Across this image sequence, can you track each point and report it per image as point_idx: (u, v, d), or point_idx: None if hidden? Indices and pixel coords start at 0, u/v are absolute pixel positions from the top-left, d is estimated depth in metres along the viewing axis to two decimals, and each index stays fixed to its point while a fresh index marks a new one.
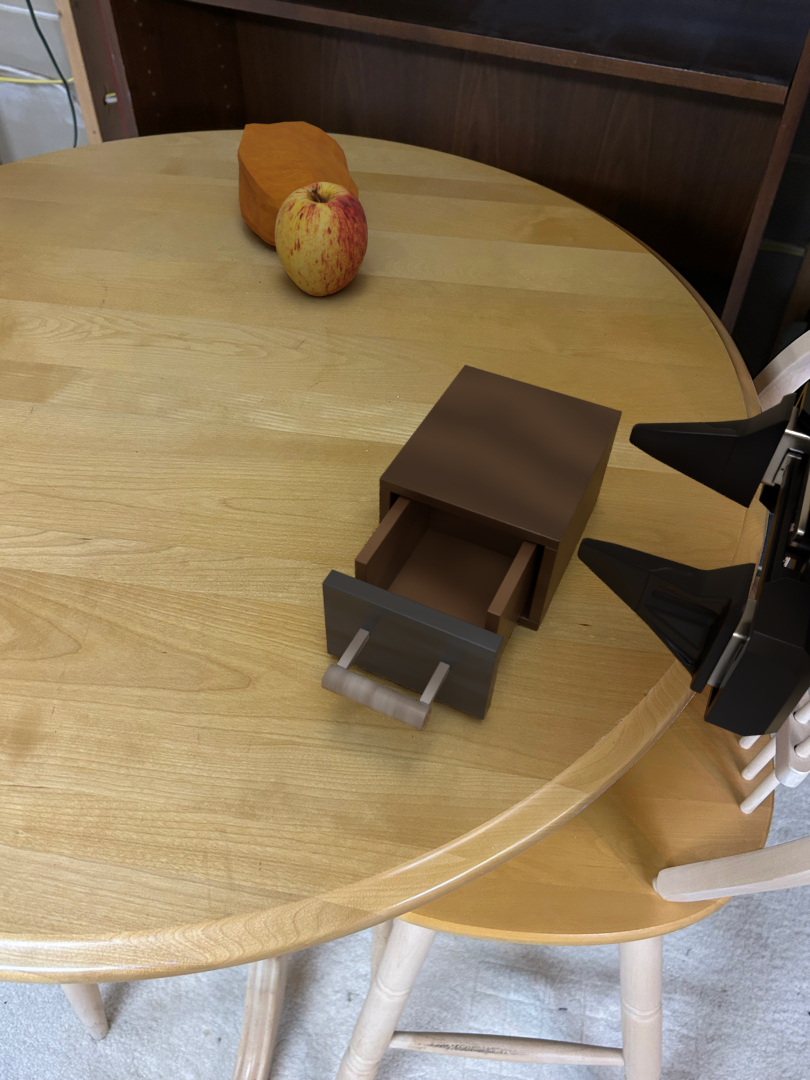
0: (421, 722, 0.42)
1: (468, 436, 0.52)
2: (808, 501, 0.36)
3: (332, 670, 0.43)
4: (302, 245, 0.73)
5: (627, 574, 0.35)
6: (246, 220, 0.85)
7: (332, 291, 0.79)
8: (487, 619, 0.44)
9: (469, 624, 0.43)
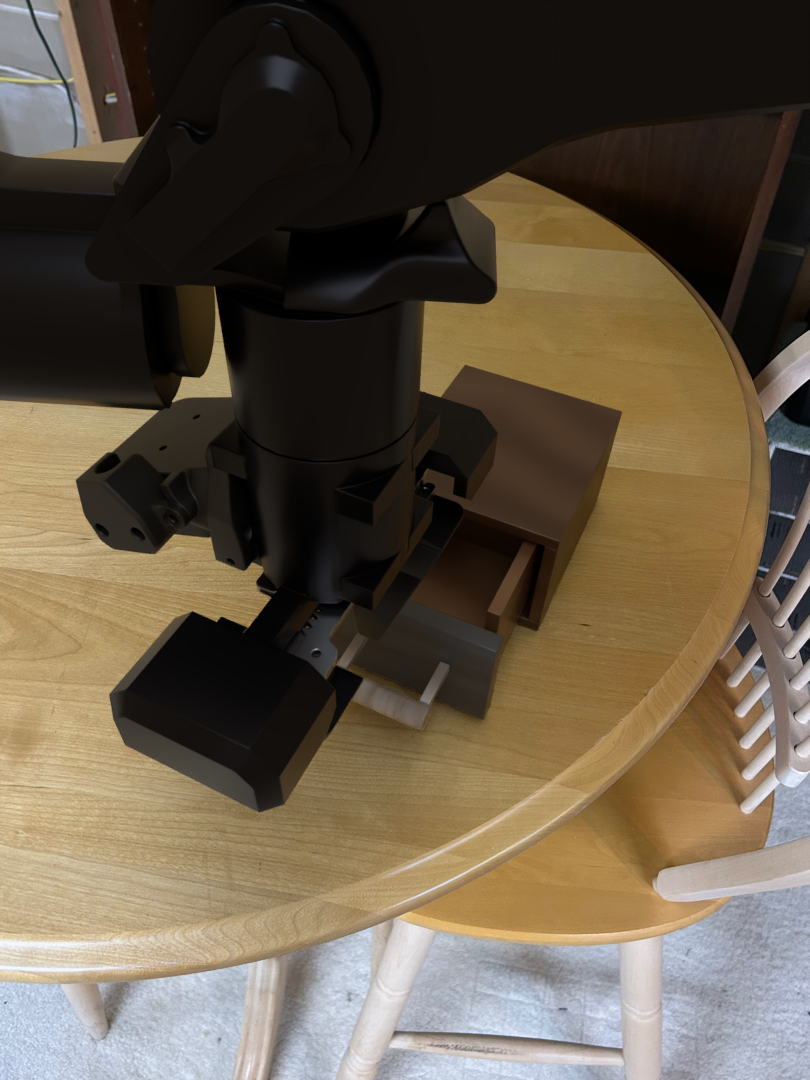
0: (421, 722, 0.42)
1: None
2: None
3: None
4: None
5: None
6: None
7: None
8: (487, 619, 0.44)
9: (469, 624, 0.43)
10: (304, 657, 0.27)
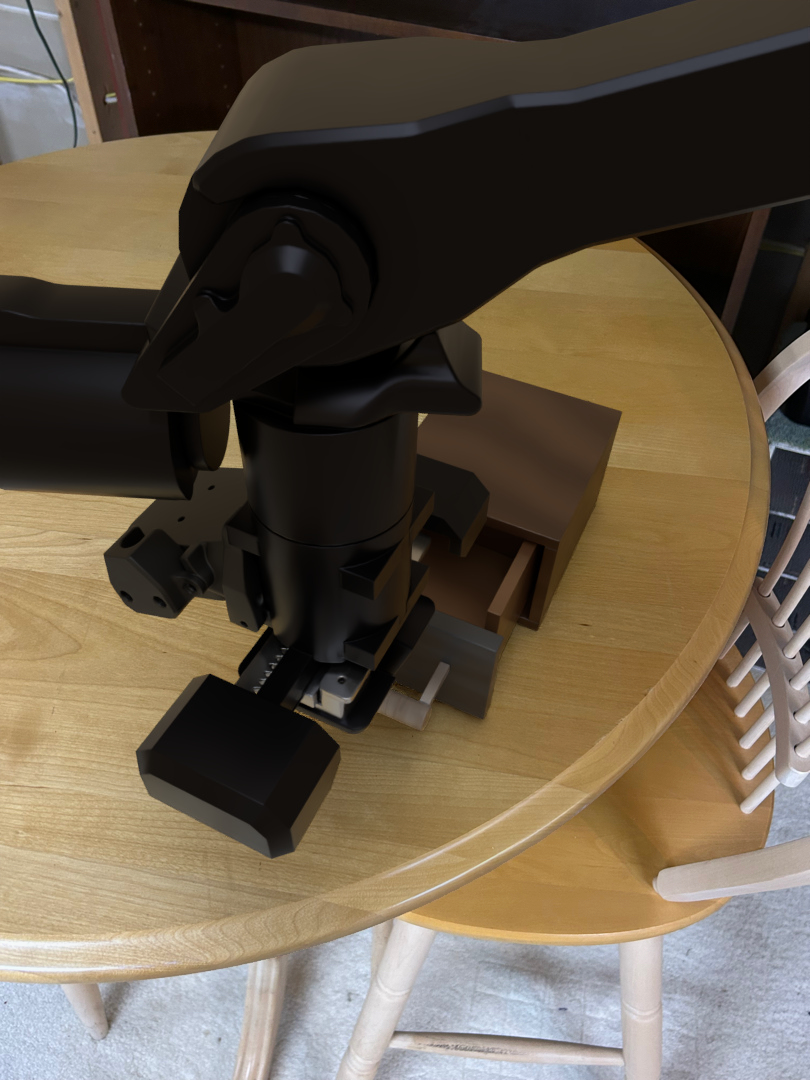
0: (421, 722, 0.42)
1: (468, 436, 0.52)
2: (257, 654, 0.31)
3: None
4: None
5: None
6: None
7: None
8: (487, 619, 0.44)
9: (469, 624, 0.43)
10: (346, 660, 0.31)
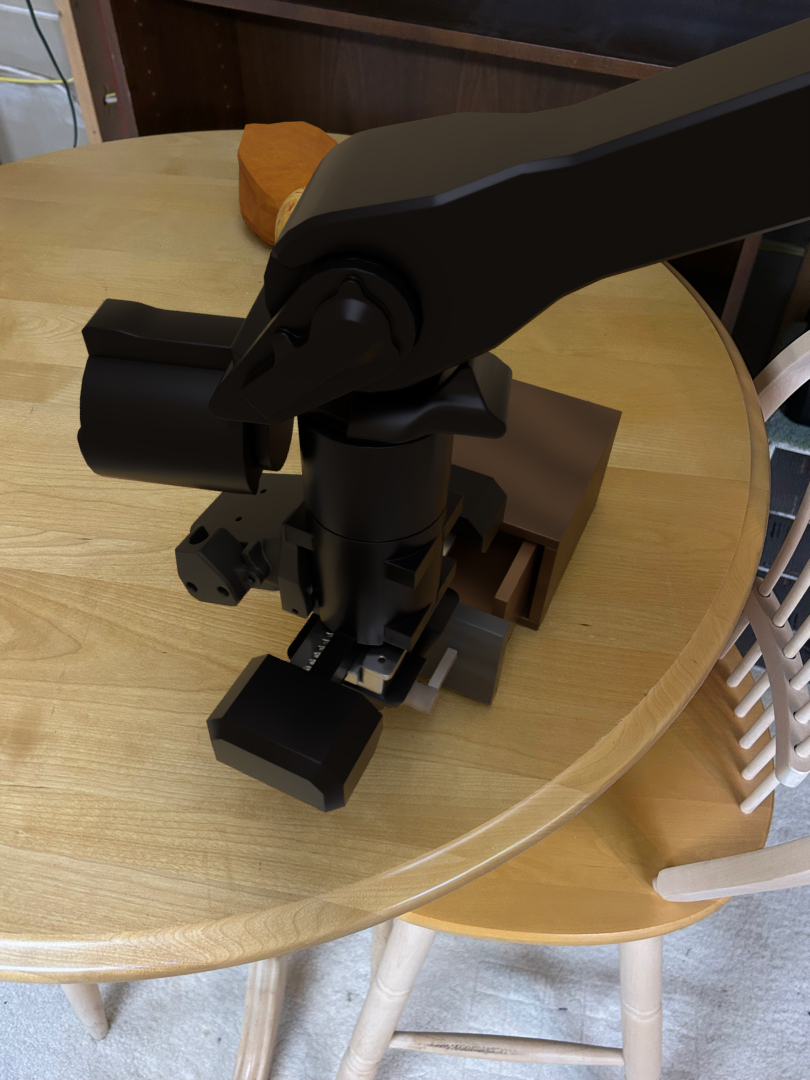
0: (429, 706, 0.42)
1: (468, 436, 0.52)
2: (306, 638, 0.35)
3: None
4: None
5: None
6: (246, 220, 0.85)
7: None
8: (494, 605, 0.45)
9: (477, 610, 0.43)
10: (385, 642, 0.35)
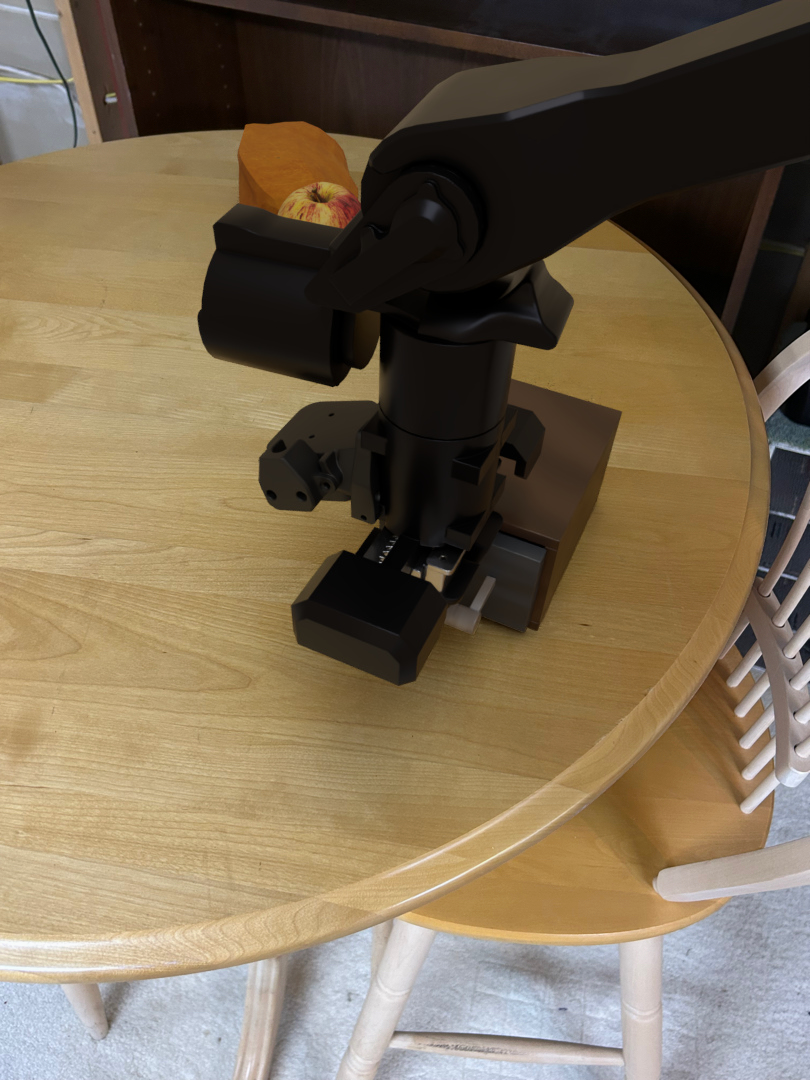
0: (472, 625, 0.46)
1: None
2: (371, 545, 0.39)
3: None
4: None
5: None
6: None
7: None
8: None
9: (515, 539, 0.47)
10: (445, 544, 0.39)
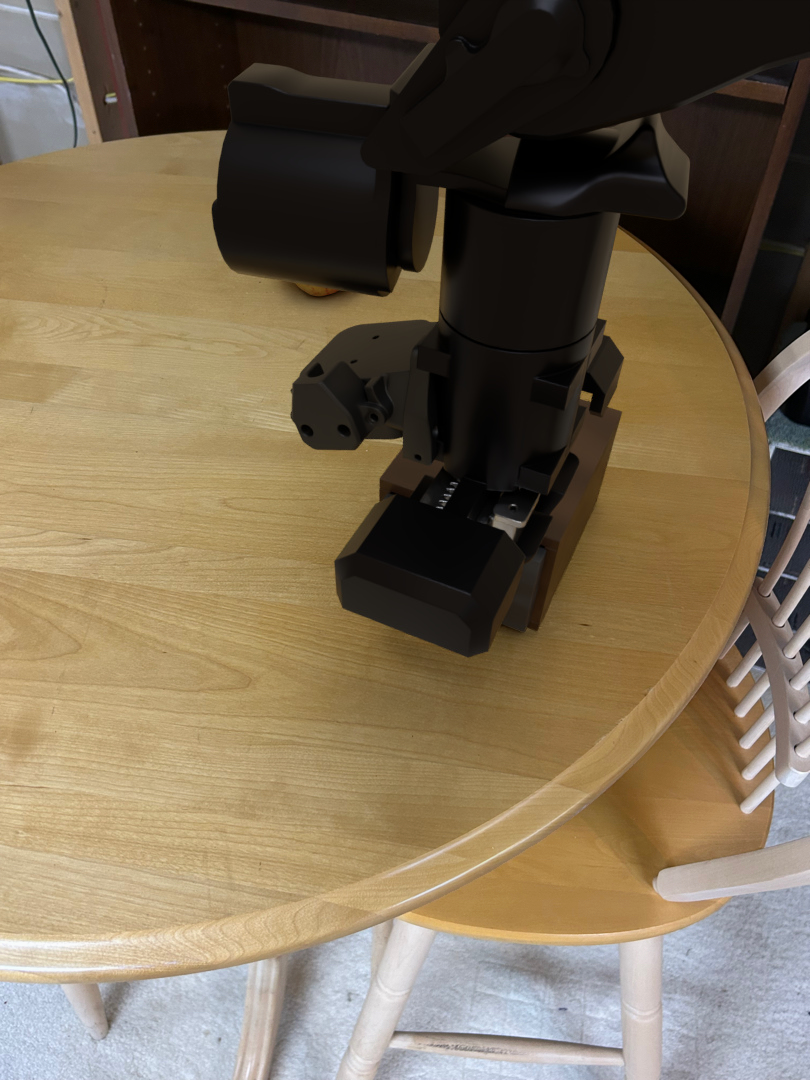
0: None
1: None
2: (428, 488, 0.33)
3: None
4: None
5: None
6: None
7: (332, 291, 0.79)
8: None
9: None
10: (514, 492, 0.32)
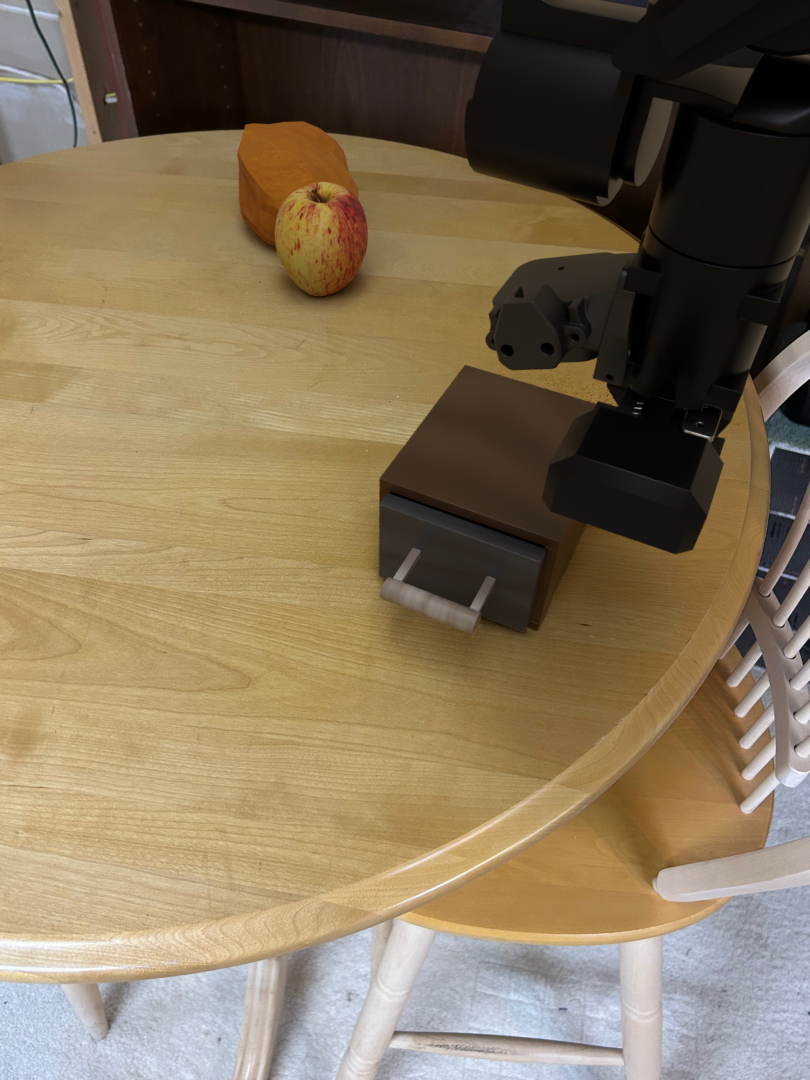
0: (472, 625, 0.46)
1: (468, 436, 0.52)
2: (617, 407, 0.35)
3: (390, 581, 0.48)
4: (302, 245, 0.73)
5: None
6: (246, 220, 0.85)
7: (332, 291, 0.79)
8: None
9: (515, 539, 0.47)
10: (698, 411, 0.35)
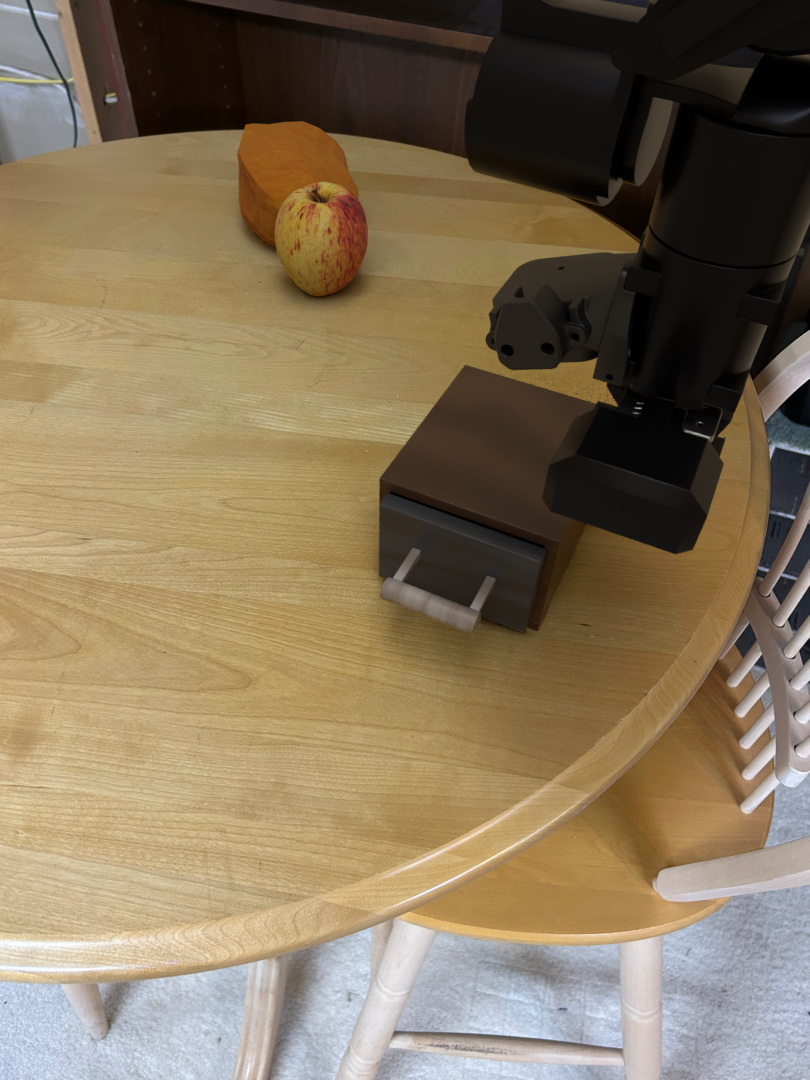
0: (472, 625, 0.46)
1: (468, 436, 0.52)
2: (617, 407, 0.35)
3: (390, 581, 0.48)
4: (302, 245, 0.73)
5: None
6: (246, 220, 0.85)
7: (332, 291, 0.79)
8: None
9: (515, 539, 0.47)
10: (698, 411, 0.35)
